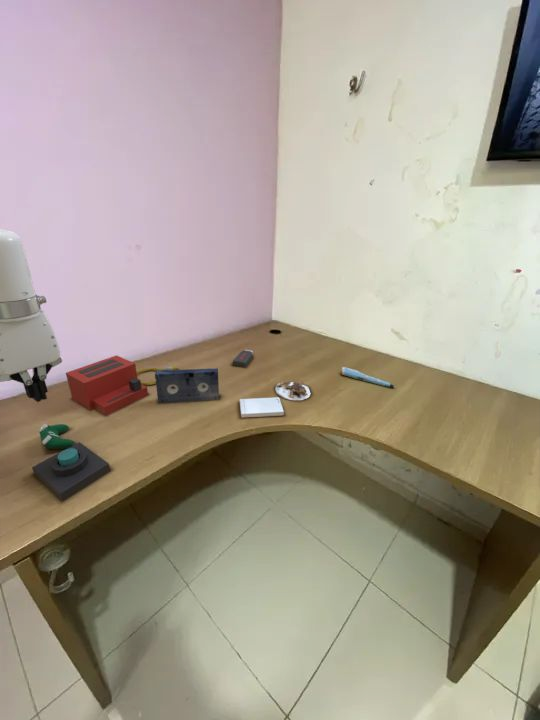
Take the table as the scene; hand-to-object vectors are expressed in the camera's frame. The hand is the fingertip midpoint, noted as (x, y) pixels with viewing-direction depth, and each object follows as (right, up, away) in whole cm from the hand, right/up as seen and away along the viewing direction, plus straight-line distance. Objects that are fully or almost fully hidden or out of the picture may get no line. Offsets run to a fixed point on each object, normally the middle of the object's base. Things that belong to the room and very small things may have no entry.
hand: (38, 397), depth 61 cm
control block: (+2, -17, +7) cm, 19 cm away
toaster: (-4, -4, +35) cm, 36 cm away
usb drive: (+35, +7, +63) cm, 72 cm away
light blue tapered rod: (+80, 0, +52) cm, 96 cm away
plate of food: (+54, -3, +42) cm, 68 cm away
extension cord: (+5, +1, +47) cm, 48 cm away
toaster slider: (+4, -1, +34) cm, 34 cm away
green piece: (-7, -13, +16) cm, 22 cm away
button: (+2, -14, +6) cm, 15 cm away
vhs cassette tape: (+20, -5, +36) cm, 41 cm away
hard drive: (+43, -8, +32) cm, 54 cm away
